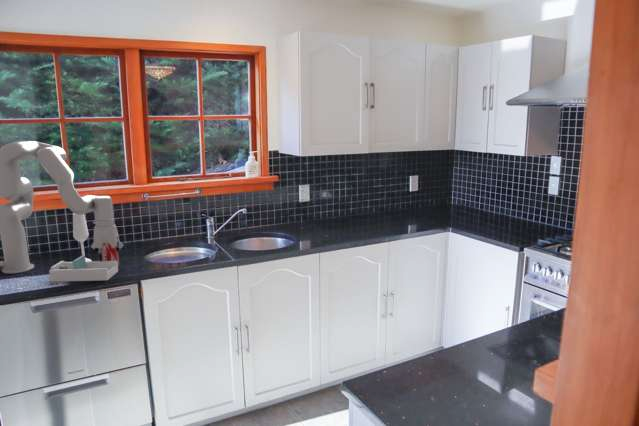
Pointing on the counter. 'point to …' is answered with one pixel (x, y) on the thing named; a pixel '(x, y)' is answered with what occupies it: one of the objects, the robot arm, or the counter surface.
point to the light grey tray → (83, 271)
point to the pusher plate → (79, 263)
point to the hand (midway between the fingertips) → (108, 260)
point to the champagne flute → (80, 231)
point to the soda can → (109, 253)
